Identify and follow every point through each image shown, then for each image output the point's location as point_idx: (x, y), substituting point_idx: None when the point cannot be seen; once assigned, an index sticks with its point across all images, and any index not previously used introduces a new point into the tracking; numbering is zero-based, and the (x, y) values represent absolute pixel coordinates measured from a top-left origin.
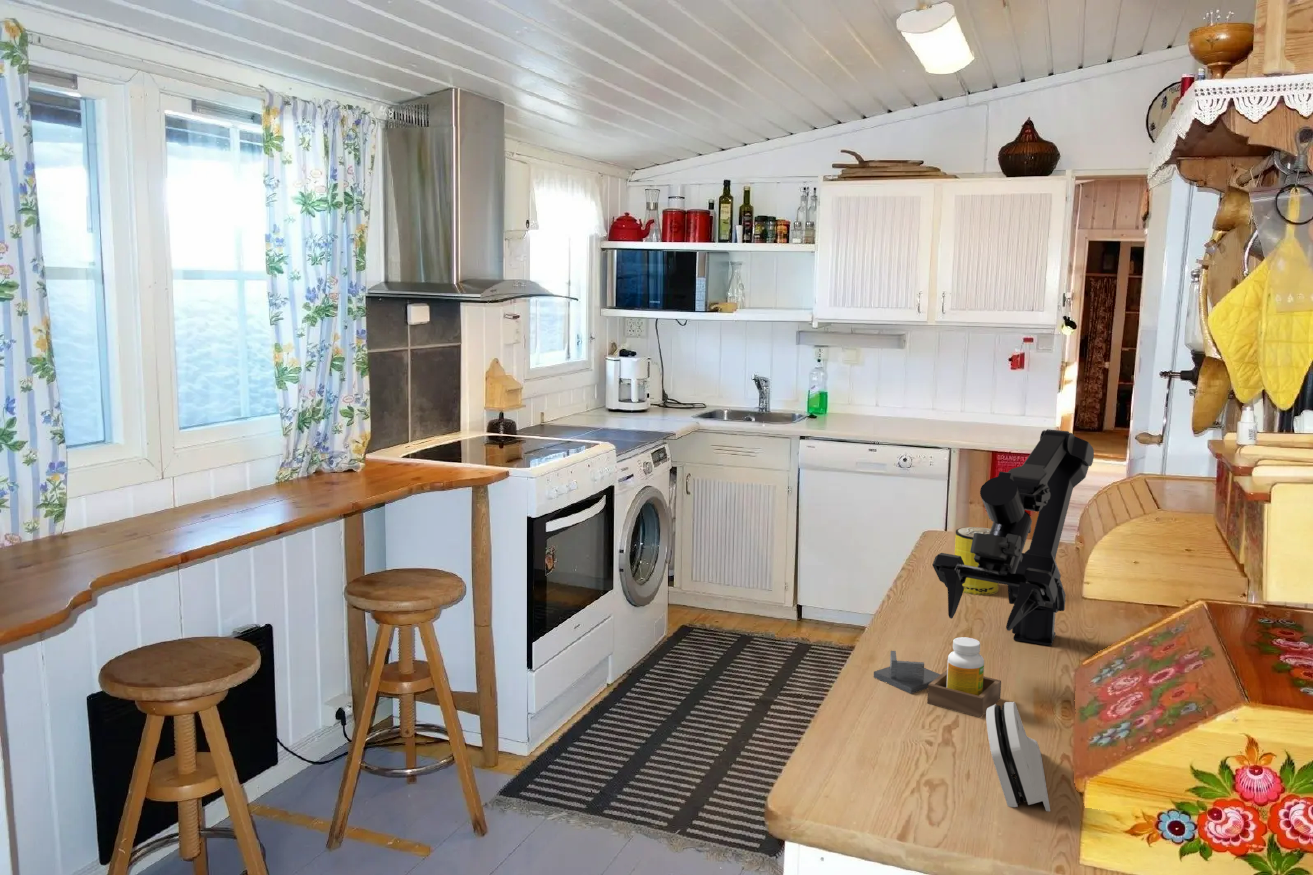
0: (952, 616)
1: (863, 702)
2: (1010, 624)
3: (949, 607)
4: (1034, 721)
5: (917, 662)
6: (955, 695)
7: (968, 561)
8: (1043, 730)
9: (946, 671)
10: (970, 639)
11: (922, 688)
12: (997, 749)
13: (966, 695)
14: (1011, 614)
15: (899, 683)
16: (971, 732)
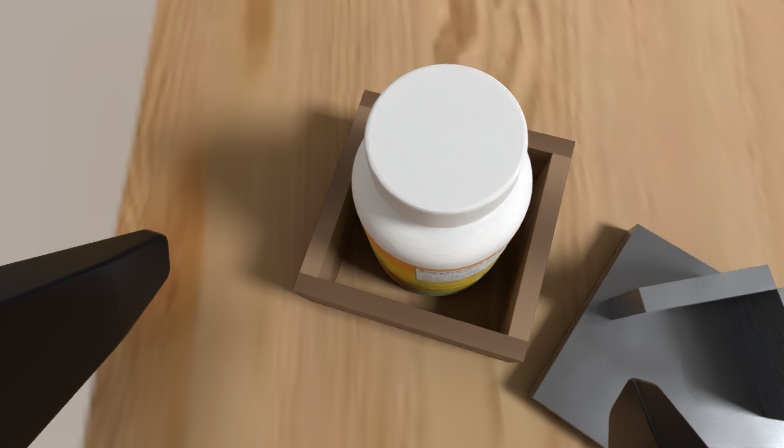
0: (614, 420)
1: (763, 104)
2: (120, 239)
3: (688, 435)
4: (208, 158)
5: (675, 300)
6: None
7: None
8: (188, 106)
9: (528, 311)
10: (425, 177)
11: (598, 281)
12: None
13: None
14: (57, 268)
15: (694, 258)
16: (393, 22)
